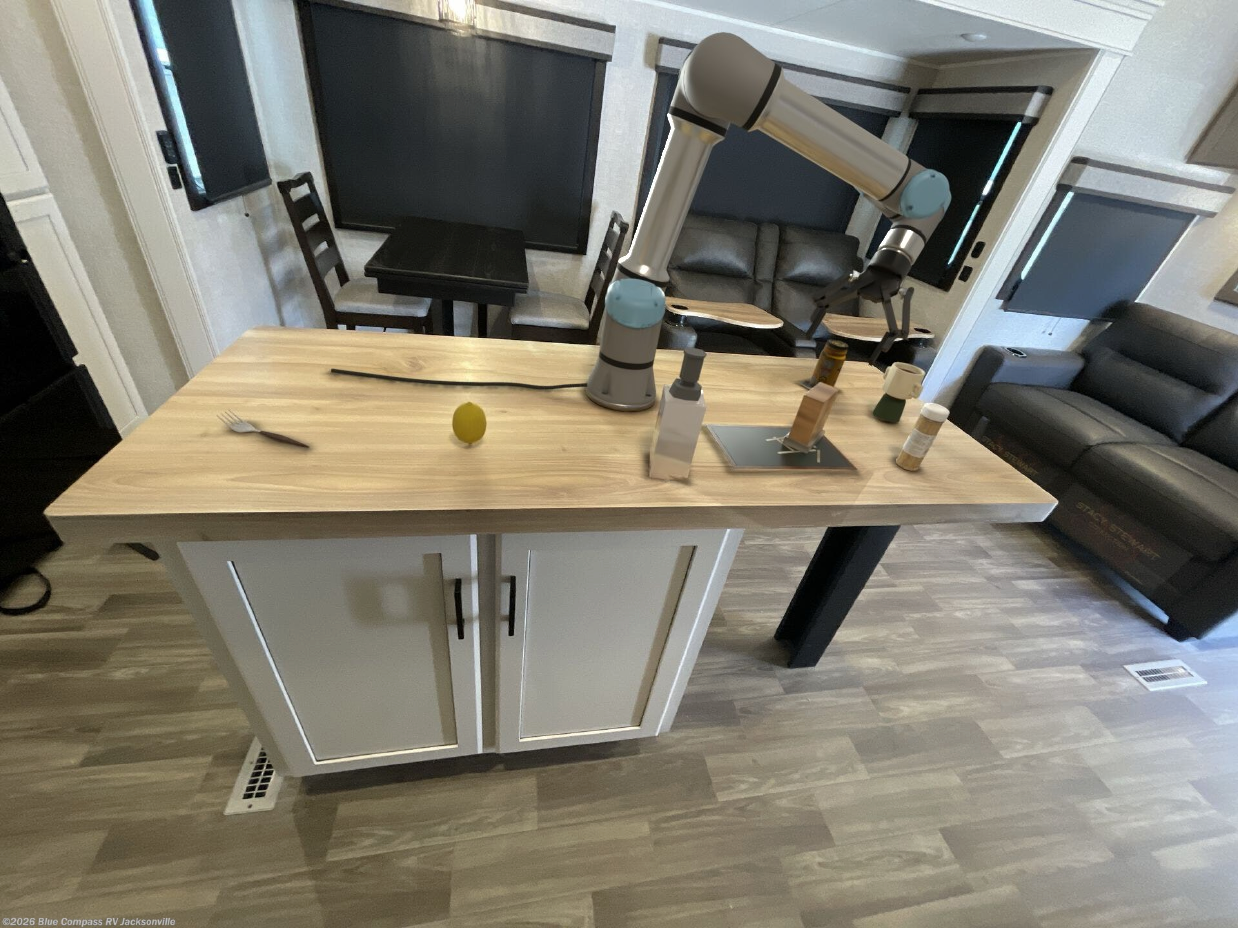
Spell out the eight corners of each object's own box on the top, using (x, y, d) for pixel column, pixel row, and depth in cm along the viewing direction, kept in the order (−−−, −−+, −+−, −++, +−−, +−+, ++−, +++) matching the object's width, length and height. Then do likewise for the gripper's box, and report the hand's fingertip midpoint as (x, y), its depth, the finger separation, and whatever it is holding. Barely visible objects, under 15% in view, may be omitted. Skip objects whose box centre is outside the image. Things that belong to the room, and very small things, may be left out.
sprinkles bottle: (904, 458, 111) (934, 401, 103) (922, 470, 107) (955, 412, 100) (890, 461, 109) (919, 402, 101) (908, 473, 105) (940, 414, 98)
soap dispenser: (682, 455, 98) (711, 342, 86) (686, 482, 91) (718, 363, 79) (648, 450, 98) (672, 336, 86) (649, 477, 91) (675, 356, 79)
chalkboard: (732, 472, 96) (733, 467, 95) (703, 427, 109) (704, 423, 108) (855, 473, 102) (857, 469, 102) (814, 431, 115) (816, 427, 115)
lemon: (457, 454, 88) (456, 412, 83) (449, 437, 92) (448, 396, 87) (490, 450, 90) (491, 408, 86) (481, 433, 94) (481, 393, 90)
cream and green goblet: (912, 429, 123) (939, 379, 116) (889, 430, 121) (915, 379, 114) (880, 407, 132) (903, 358, 125) (858, 408, 129) (880, 358, 122)
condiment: (839, 391, 137) (857, 347, 130) (819, 395, 132) (837, 350, 126) (817, 379, 142) (833, 336, 135) (796, 383, 137) (813, 338, 131)
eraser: (806, 454, 104) (827, 404, 98) (782, 443, 106) (800, 393, 100) (822, 437, 111) (842, 389, 105) (799, 427, 113) (817, 380, 107)
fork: (303, 454, 82) (301, 443, 81) (218, 426, 84) (215, 415, 83) (316, 446, 84) (314, 435, 83) (232, 419, 86) (229, 408, 85)
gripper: (954, 288, 105) (897, 381, 106) (836, 250, 116) (785, 334, 117) (961, 269, 99) (900, 368, 100) (835, 230, 109) (781, 319, 110)
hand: (838, 350), depth 108 cm, fingers open, 13 cm apart
